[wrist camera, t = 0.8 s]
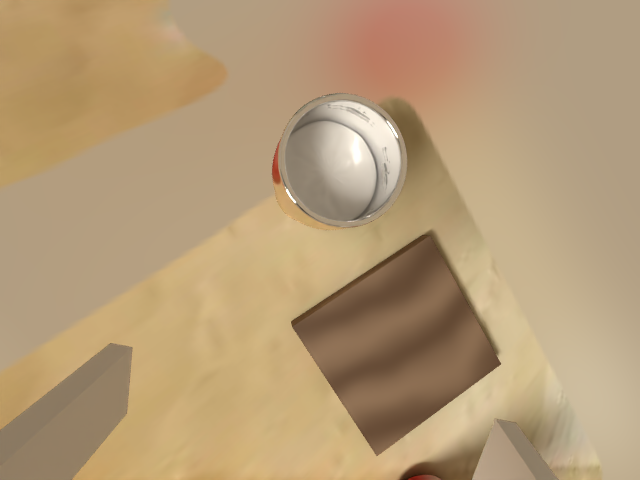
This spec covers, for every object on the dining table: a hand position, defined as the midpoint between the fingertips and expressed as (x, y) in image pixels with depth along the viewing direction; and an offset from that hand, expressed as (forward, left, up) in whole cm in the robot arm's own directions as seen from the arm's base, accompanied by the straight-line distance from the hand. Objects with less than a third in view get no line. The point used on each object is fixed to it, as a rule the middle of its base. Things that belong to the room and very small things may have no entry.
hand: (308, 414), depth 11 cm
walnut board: (+11, +7, -19) cm, 23 cm away
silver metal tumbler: (-7, +7, -20) cm, 22 cm away
